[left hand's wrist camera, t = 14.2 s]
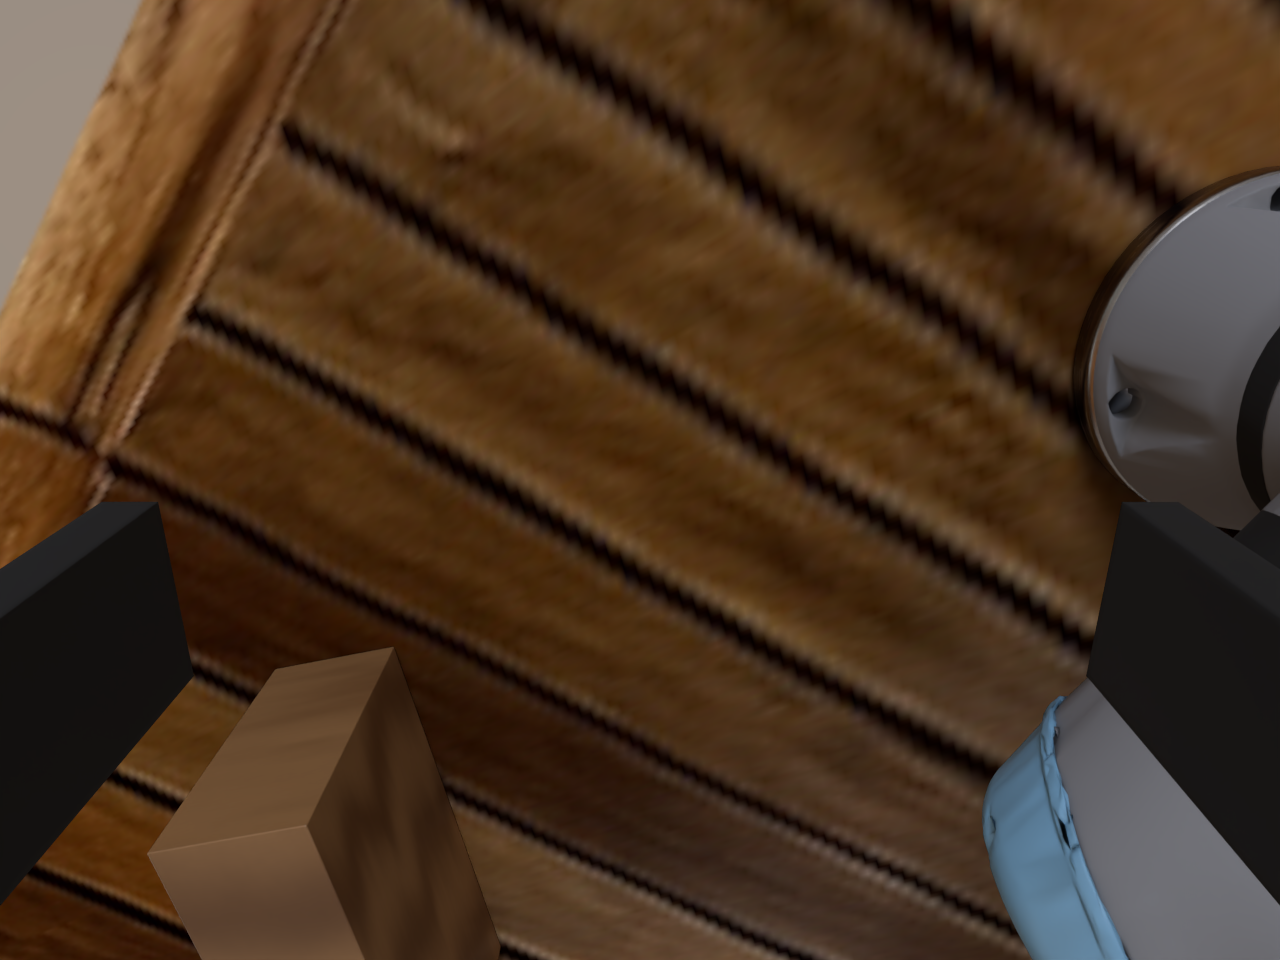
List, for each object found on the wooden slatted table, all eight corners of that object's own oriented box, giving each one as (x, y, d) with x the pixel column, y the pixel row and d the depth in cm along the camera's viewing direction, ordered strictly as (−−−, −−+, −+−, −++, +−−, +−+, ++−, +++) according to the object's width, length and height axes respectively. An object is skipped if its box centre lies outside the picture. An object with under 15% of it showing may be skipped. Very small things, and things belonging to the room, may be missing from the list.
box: (275, 668, 45) (146, 853, 33) (394, 646, 44) (306, 825, 32) (397, 962, 52) (326, 1201, 40) (501, 945, 51) (460, 1182, 39)
